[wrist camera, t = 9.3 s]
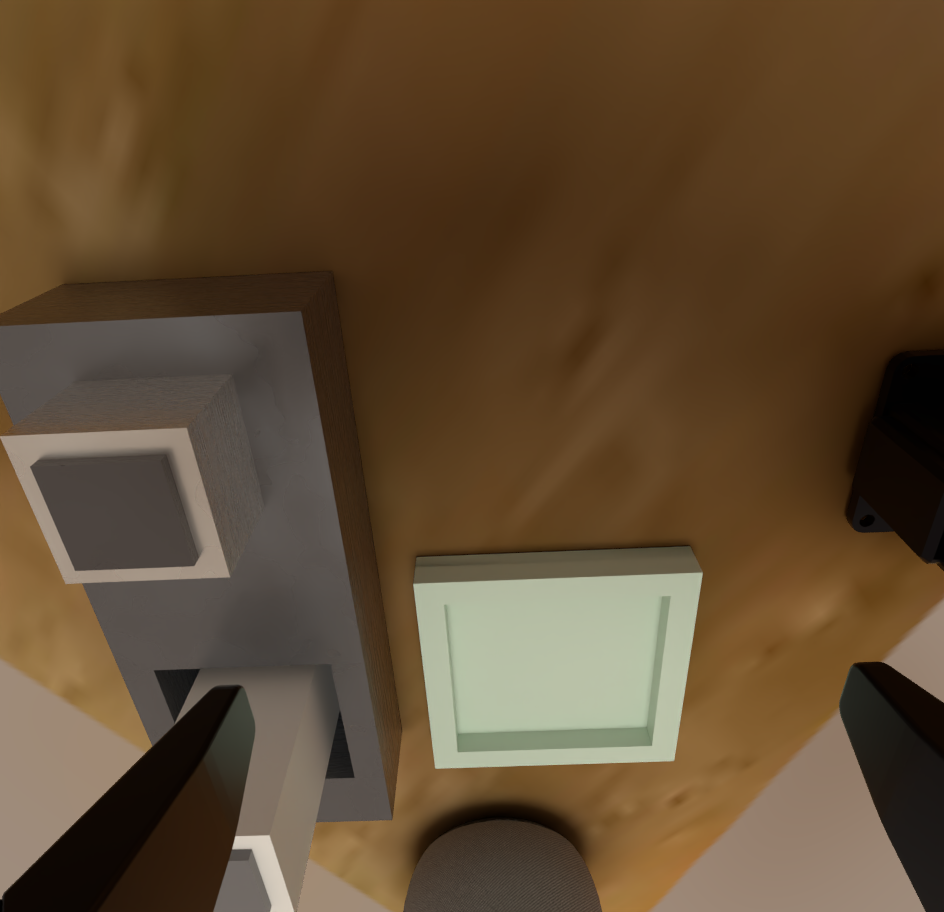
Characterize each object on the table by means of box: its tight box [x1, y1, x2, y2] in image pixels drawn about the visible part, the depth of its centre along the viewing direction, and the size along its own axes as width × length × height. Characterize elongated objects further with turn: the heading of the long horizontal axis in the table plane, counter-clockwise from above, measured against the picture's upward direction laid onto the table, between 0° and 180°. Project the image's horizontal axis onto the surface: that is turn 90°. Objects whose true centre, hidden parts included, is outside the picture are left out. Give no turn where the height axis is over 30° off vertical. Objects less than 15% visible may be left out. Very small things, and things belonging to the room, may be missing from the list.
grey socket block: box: [0, 271, 402, 822], centre depth 21 cm, size 20×8×7 cm, turn 3°
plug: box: [174, 664, 340, 912], centre depth 22 cm, size 4×4×8 cm
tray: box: [413, 546, 703, 769], centre depth 26 cm, size 10×10×2 cm
